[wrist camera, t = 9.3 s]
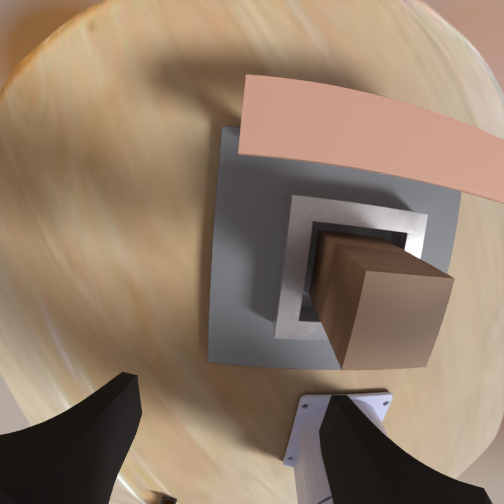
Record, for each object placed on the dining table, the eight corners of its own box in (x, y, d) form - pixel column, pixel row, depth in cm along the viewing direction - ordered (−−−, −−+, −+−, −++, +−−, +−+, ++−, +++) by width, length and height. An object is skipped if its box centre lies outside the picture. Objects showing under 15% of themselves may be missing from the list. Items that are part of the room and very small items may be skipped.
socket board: (413, 359, 21) (457, 417, 14) (209, 354, 21) (191, 429, 13) (456, 155, 17) (530, 154, 10) (225, 112, 17) (207, 72, 10)
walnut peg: (368, 298, 19) (425, 367, 11) (308, 294, 18) (341, 369, 11) (380, 237, 18) (454, 278, 10) (318, 229, 18) (365, 270, 10)
